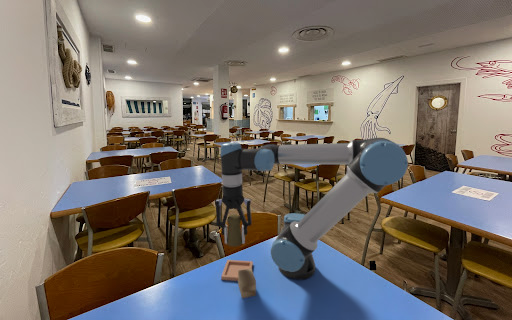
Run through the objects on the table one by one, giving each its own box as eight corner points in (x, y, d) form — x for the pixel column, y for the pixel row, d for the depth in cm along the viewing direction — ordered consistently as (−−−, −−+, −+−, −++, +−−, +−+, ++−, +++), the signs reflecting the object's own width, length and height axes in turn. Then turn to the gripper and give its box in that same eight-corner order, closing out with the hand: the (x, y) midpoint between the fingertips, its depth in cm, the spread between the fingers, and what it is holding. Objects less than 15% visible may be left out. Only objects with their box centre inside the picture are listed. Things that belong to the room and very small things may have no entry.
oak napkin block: (251, 282, 92) (251, 268, 91) (255, 295, 85) (255, 280, 84) (238, 284, 90) (238, 270, 89) (241, 298, 84) (241, 283, 83)
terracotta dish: (252, 264, 103) (252, 261, 103) (249, 281, 92) (249, 278, 92) (227, 262, 104) (227, 259, 104) (221, 279, 93) (221, 276, 93)
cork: (241, 247, 90) (239, 219, 88) (225, 246, 91) (223, 218, 89) (244, 239, 96) (243, 213, 94) (229, 238, 97) (228, 212, 95)
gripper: (258, 181, 93) (259, 237, 97) (209, 182, 94) (213, 237, 98) (257, 186, 86) (259, 247, 89) (204, 187, 86) (208, 247, 90)
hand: (235, 241), depth 94 cm, fingers closed on cork, 6 cm apart
